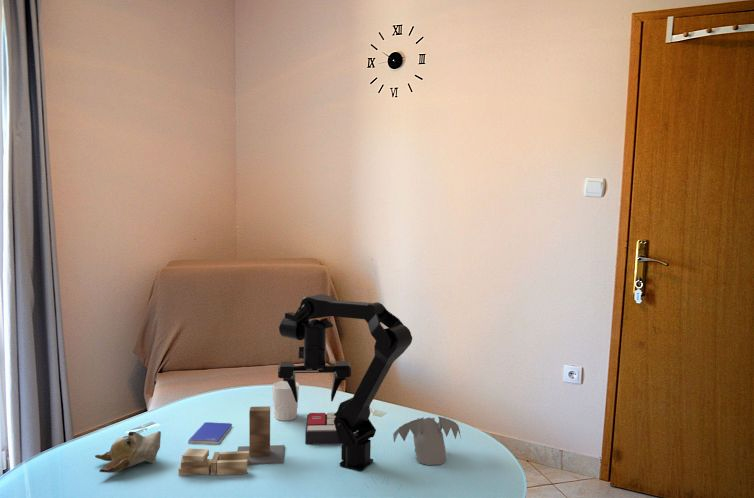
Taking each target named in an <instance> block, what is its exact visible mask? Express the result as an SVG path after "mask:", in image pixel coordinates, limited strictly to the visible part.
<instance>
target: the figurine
mask: <svg viewBox="0 0 754 498" xmlns="http://www.w3.org/2000/svg"><path fill="white" fill-rule="evenodd" d="M437 417H438V422H437V421H436V420H435V417H425V418H424V416H422V417H417V419H414V420H411V421H409V422H406V423H404V424H402V425H400V426H399V427H398V428H396V430H395V431H394V432H393V443H395V442H396V439H397V437H398V434H399V435H400V437H401V438H402V440H403V442H405V441H406V439H407V437H408V435H409V432H411V433H412V435H413V443H414V452H415V456H416V457H415V459H416V461H417V462H418V463H420V464H423V465H426V466H431V465H432V466H434V465H436V466H437V465H442V464H444V463H445V462H446V461H447V453H446V445H445V440H444V434H445V437H446V438H447V437H448V435H449V433H450V431H452V434H453V437H454V440H456V439H457V436H458V435H459V437H460V439H462V436H461V430H460V426H459V425H458V423H457V422H456V421H454V420H451V419H450V418H447V417H441V416H437ZM442 429H443V431H442ZM443 432H444V434H443Z"/></svg>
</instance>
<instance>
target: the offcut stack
mask: <svg viewBox="0 0 754 498" xmlns="http://www.w3.org/2000/svg"><path fill="white" fill-rule="evenodd" d="M209 456H210V449H209V448H188V449H187V450H186V452H184V453H183V454H181V459H180V465H179V466H178V469H177V470H178V472H177V473H178V476H191V475H193V476H195V475H210V473H211V461H212V458H209Z"/></svg>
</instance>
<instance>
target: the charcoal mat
mask: <svg viewBox="0 0 754 498" xmlns="http://www.w3.org/2000/svg"><path fill="white" fill-rule="evenodd" d="M236 451H249V445H245V446H244V445H243V446H242V445H241V446H240V445H239V446H238V447H237V450H236ZM284 451H285V445H284V444H279V445H278V444H275V445H271V444H270V456H259V457H249V465H271V464H272V465H273V464H283V463H284V455H285V453H284Z"/></svg>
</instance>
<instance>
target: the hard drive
mask: <svg viewBox="0 0 754 498" xmlns="http://www.w3.org/2000/svg"><path fill="white" fill-rule="evenodd" d="M232 427H233V424H232V423H231V422H230V423H229V422H210V421H209V422H204V423H203V424H201V425H200V427H199V428H198V429H197V430H196V431H195V432H194V433H193V434H192V436H191V437H189V439H188V442H187V444H198V445H200V444H201V445H202V444H203V445H219V444H220V443H221V441H223V439H224V438H225V436H226V435H227V434H228V432H229V431H230V430H231V429H232Z"/></svg>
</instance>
